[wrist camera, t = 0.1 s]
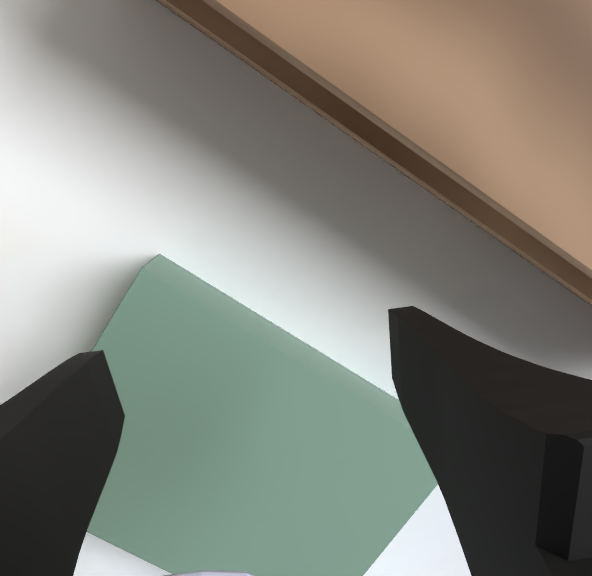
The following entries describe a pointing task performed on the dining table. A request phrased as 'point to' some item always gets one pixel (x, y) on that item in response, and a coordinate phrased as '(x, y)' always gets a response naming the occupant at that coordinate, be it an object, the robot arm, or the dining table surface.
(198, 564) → the green book
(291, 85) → the bookshelf
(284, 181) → the dining table surface
